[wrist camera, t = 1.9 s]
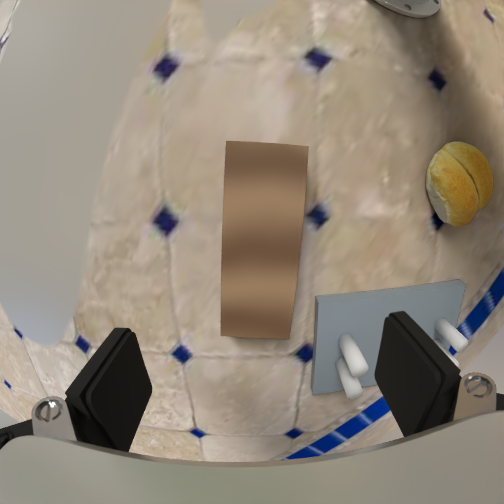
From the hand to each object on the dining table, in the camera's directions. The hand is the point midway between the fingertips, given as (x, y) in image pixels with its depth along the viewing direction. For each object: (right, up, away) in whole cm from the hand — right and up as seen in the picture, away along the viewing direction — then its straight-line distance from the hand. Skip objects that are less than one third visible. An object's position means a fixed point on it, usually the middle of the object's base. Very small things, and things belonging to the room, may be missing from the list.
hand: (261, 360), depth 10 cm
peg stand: (+15, -6, +19) cm, 25 cm away
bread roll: (+21, +11, +14) cm, 28 cm away
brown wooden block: (0, +5, +16) cm, 17 cm away
